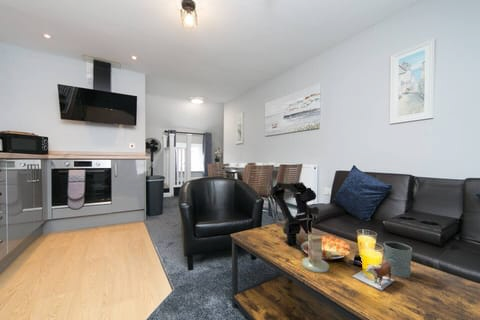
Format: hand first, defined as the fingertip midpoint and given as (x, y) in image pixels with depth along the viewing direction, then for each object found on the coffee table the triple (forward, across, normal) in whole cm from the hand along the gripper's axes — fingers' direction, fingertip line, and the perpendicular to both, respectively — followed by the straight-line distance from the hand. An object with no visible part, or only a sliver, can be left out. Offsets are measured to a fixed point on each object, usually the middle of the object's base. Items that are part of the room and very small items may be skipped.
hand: (309, 233), depth 104 cm
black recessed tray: (+18, +6, -18) cm, 26 cm away
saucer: (+14, -6, 0) cm, 16 cm away
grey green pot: (+21, +7, -33) cm, 40 cm away
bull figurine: (+22, -6, -24) cm, 34 cm away
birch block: (+13, -6, 0) cm, 15 cm away
